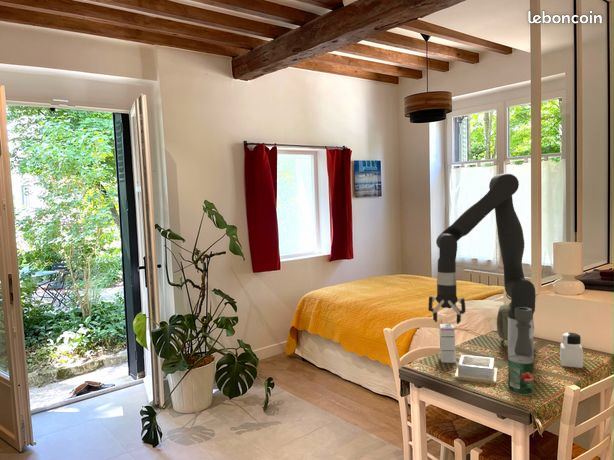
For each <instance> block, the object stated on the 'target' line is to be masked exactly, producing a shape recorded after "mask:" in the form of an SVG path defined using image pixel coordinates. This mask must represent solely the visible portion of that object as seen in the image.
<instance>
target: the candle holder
mask: <svg viewBox="0 0 614 460" xmlns="http://www.w3.org/2000/svg"><path fill="white" fill-rule="evenodd" d="M515 318H516V320H517V322H518V323H517V324H516V327H517V329H518V337H517V341H516V345H515V349H514V351H515V354H516V355H521V356H527V357H531V356H532V354H533V355H534V349H533V350H532V346H531V342H530V338H529V329H530V328H531V325H530V324H529V323H530V321H531V319H532V309H531V308H526V307H517V308H515Z"/></svg>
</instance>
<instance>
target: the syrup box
mask: <svg viewBox="0 0 614 460" xmlns="http://www.w3.org/2000/svg"><path fill="white" fill-rule="evenodd" d="M438 327H439V351H440V353H439V354H440V355H439V356H440V357H439V358H440V361H441V363H445V364H447V363H448V364H456V362H457V360H456V355H457V354H456V353H457V352H456V334H455V333H456V332H455V331H456V330H455V326H454V324H453V323H440V324H439V326H438Z"/></svg>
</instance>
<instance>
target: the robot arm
mask: <svg viewBox="0 0 614 460" xmlns="http://www.w3.org/2000/svg"><path fill="white" fill-rule="evenodd" d="M488 185H489V186H488V187H489V191H487V192H486V194H484V196H482V198H480V199H479V200H478V201H477V202H475V203H474V204H473V205H471V206H470V207H468V208H467V209H466V210H465V211H464V212H463V213H462V214H461V215H460V216H459V217H458V218H457V219H456V220H455V221H454V222H453V223H452V224H451V225H449V226H448V227H447V228H445V230H443V231H442V232H441V233H440V234H439V235H438V236H437V238H436V246H437V248H438V249H439V256H438V259H437V275H436V296H433V295H429V296H428V308H427V309H428V311H429V312H432V321H434V323H437V322H438V310H439V309H440V308H442V309H452V310H453V311H454V312H455V314H456V324H457V325H458V324H459V323H461V321H462V318H461V316H462V314H465V313H466V300H465V297H460V298H459V297H458V296H457V273H456V272H457V271H456V270H457V265H456V263H457V262H456V260H457V253H458V241H459V240H460V239H461V238H463V237H465V236H467V235H468V234H470V232H471V231H473V230H474V229H475V227H476V226H478V224H480V223H481V221H483V219H485V217H487V216H488V215H489V214H490V213H491V212H492V211H493V210H494V213H495V223H496V230H497V239H498V244H499V248H500V254H501V261H502V266H503V285H504V290H505V293H506V294H507V296H508V297H509V298H511V301H510V302H511V309H509V310H508V340H507V358H508V357H509V356H512V355H516V354H515V351H514V349H515V345H516V341H517V337H518V329H517V327H516V324H517V323H518V322H517V320H516V318H515V308H517V307H526V308H531V309H532V319H531V321H530V323H529V324H530V325H531V328H530V329H529V338H530V342H531V346H532V350H533V351H534V330H533V322H534V313H535V311H536V298H537V297H536V287H535V285H534V284H533V282H532V281H531V280H529V279H527V278H526V279H525V275H524V271H523V270H524V269H523V256H524V251H525V237H524V230H523V226H522V224H521V221H520V219H519V217H518V215H517V213H516V210H515V207H514V202H513V200H514V199H513V195H514V194H516V193H517V191H518V189H519V185H520V183H519V179H518V178H517V176H515V175H514V174H512V173H500V174H495V175H493V177H492V178H491V179H490V181H489V184H488ZM435 301H436V303H438V304H437V305H436V306H435V308H433V307H434V306H433V304H434V302H435ZM457 302H458V303H459V304H460V305H461V310H460V308H459V307H458V305H457ZM530 358H532V359H533V360H534V353H533V354H532V356H531V357H530Z"/></svg>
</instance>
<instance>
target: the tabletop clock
mask: <svg viewBox="0 0 614 460" xmlns="http://www.w3.org/2000/svg"><path fill="white" fill-rule="evenodd" d="M505 295H506V296H505V297H507V299H508V300H511V297H509V296H508V295H507V293H506V294H505ZM509 309H511V301H510V302H509V303H508V304H504V305H500V306H499V308H498V312H497V318H496V330H497V334H498V337H499V338H500V339H502V340H500V345H504V344H505V341H508V310H509ZM534 327H535V325H534V321H533V331H534V329H535V328H534Z"/></svg>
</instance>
